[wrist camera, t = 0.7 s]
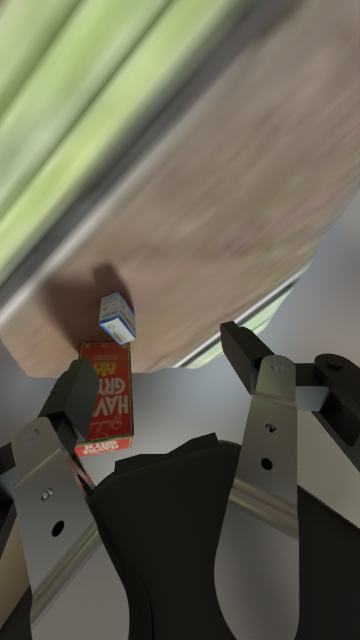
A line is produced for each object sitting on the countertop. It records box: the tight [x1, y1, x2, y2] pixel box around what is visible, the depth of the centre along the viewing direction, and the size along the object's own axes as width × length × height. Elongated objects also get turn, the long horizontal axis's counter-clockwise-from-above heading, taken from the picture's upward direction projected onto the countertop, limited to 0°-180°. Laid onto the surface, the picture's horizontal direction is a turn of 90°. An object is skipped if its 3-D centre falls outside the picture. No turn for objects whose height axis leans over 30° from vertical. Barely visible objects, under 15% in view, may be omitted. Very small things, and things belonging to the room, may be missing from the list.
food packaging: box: [75, 342, 134, 457], centre depth 48 cm, size 13×9×25 cm
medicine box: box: [99, 292, 136, 345], centre depth 43 cm, size 8×4×9 cm, turn 17°
